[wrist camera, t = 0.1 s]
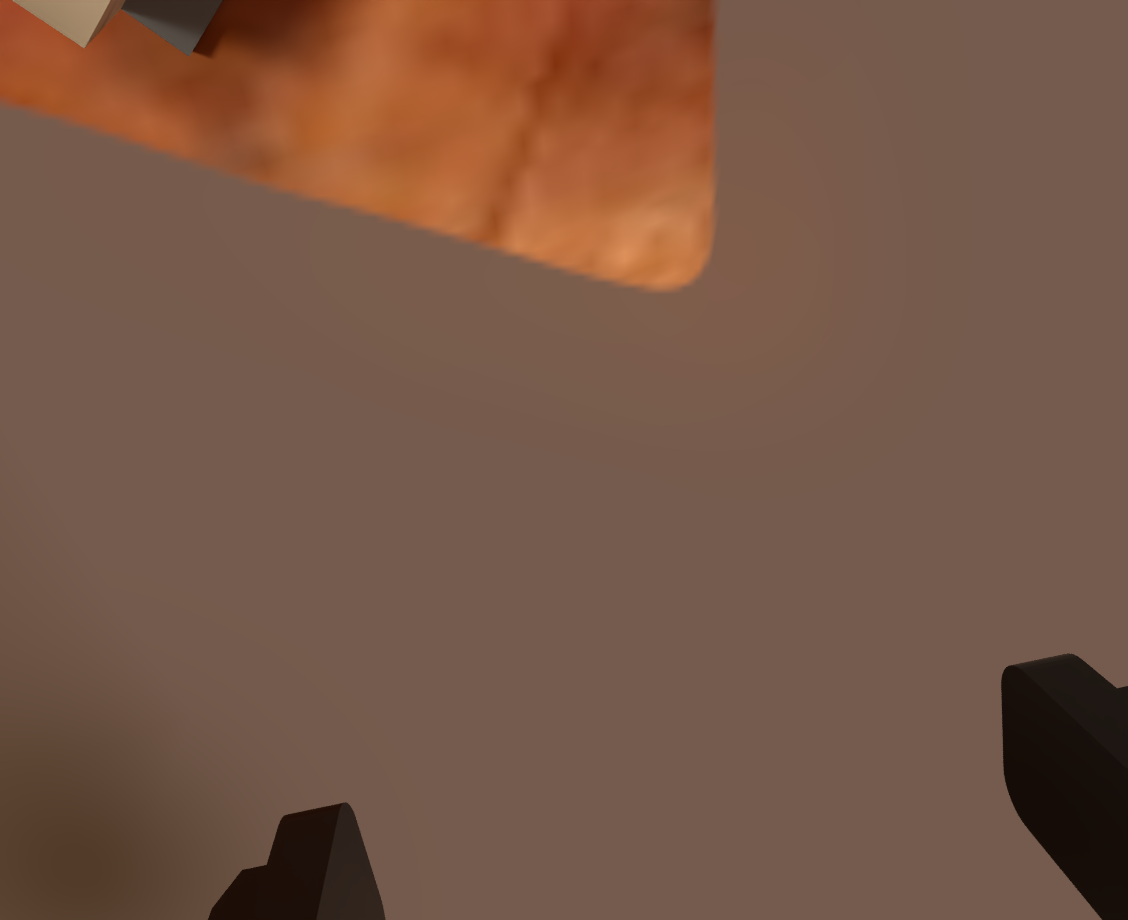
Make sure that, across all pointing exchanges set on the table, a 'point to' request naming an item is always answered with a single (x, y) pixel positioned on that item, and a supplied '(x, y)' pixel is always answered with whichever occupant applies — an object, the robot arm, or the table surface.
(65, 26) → the stepped beige bar
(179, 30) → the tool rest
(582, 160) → the table surface
